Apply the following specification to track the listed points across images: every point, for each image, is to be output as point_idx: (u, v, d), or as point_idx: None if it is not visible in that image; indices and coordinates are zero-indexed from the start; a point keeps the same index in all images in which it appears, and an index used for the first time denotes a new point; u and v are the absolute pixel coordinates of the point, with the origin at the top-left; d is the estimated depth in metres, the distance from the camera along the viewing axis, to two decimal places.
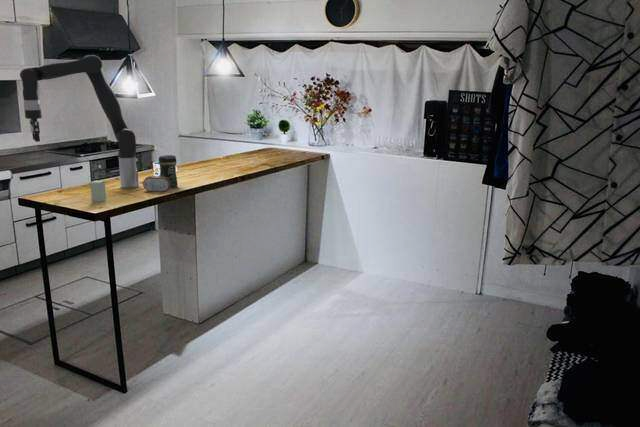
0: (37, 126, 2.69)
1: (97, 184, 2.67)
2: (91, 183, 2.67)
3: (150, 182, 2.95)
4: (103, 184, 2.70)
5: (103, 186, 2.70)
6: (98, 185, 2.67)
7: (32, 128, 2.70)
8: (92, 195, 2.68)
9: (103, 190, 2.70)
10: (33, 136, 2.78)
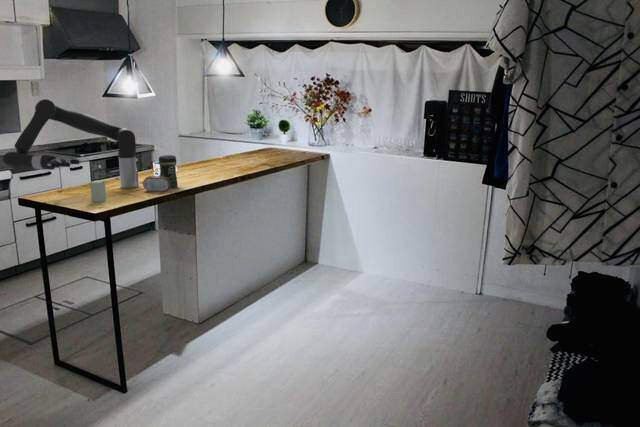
0: (51, 163, 2.62)
1: (97, 184, 2.67)
2: (91, 183, 2.67)
3: (150, 182, 2.95)
4: (103, 184, 2.70)
5: (103, 186, 2.70)
6: (98, 185, 2.67)
7: None
8: (92, 195, 2.68)
9: (103, 190, 2.70)
10: (75, 163, 2.72)
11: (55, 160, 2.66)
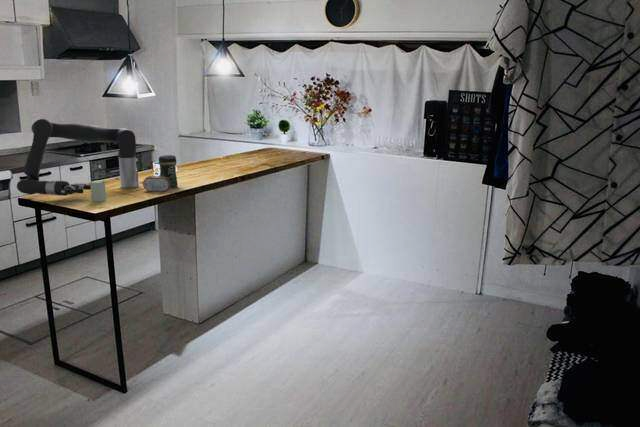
0: (65, 190, 2.65)
1: (97, 184, 2.67)
2: (91, 183, 2.67)
3: (150, 182, 2.95)
4: (103, 184, 2.70)
5: (103, 186, 2.70)
6: (98, 185, 2.67)
7: None
8: (92, 195, 2.68)
9: (103, 190, 2.70)
10: (88, 189, 2.75)
11: (69, 186, 2.69)
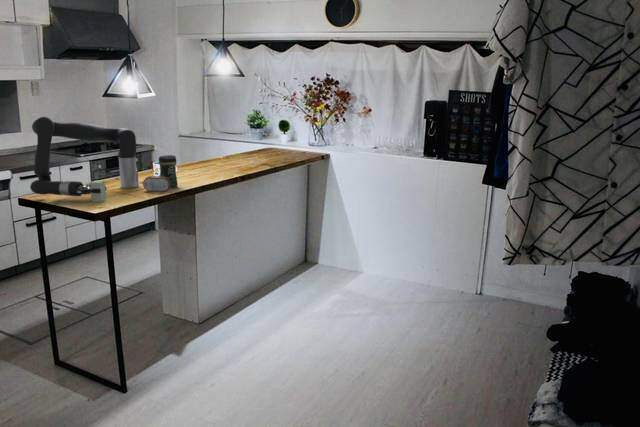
0: (82, 190, 2.64)
1: (97, 184, 2.66)
2: (91, 183, 2.67)
3: (150, 182, 2.95)
4: (103, 184, 2.70)
5: (103, 186, 2.70)
6: (98, 185, 2.67)
7: (87, 193, 2.68)
8: (92, 195, 2.68)
9: (103, 190, 2.70)
10: None
11: (83, 187, 2.68)
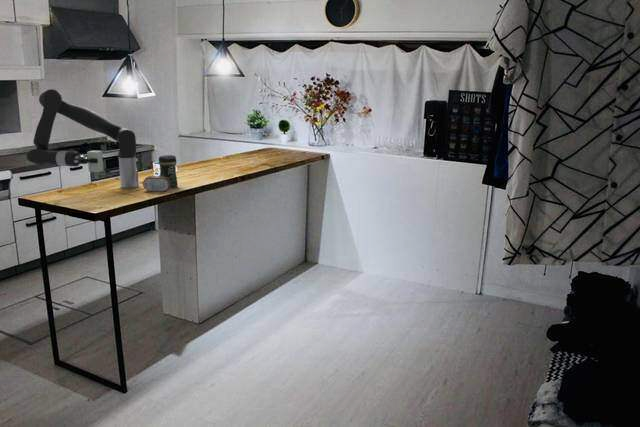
0: (78, 160, 2.60)
1: (94, 153, 2.63)
2: (88, 153, 2.63)
3: (150, 182, 2.95)
4: (100, 154, 2.66)
5: (100, 156, 2.66)
6: (95, 155, 2.63)
7: (84, 163, 2.64)
8: (89, 165, 2.64)
9: (100, 160, 2.66)
10: None
11: (80, 157, 2.64)
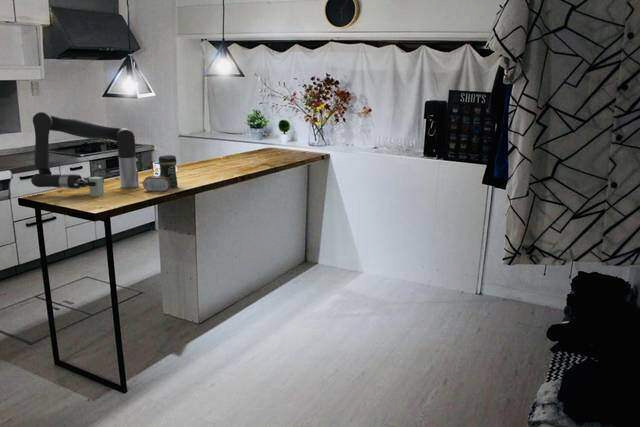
0: (78, 183, 2.76)
1: (95, 180, 2.79)
2: (90, 179, 2.79)
3: (150, 182, 2.95)
4: (101, 180, 2.82)
5: (101, 182, 2.83)
6: (96, 181, 2.79)
7: None
8: (91, 190, 2.81)
9: (101, 186, 2.83)
10: None
11: (81, 180, 2.80)
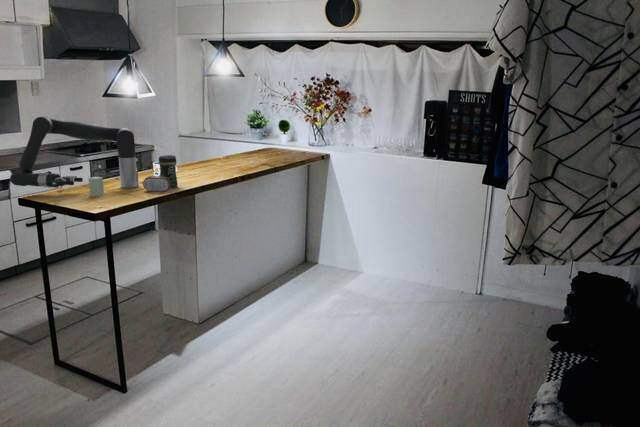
0: (56, 182, 2.77)
1: (95, 180, 2.79)
2: (90, 179, 2.79)
3: (150, 182, 2.95)
4: (101, 180, 2.82)
5: (101, 182, 2.83)
6: (96, 181, 2.79)
7: None
8: (91, 190, 2.81)
9: (101, 186, 2.83)
10: (79, 181, 2.87)
11: (60, 179, 2.81)
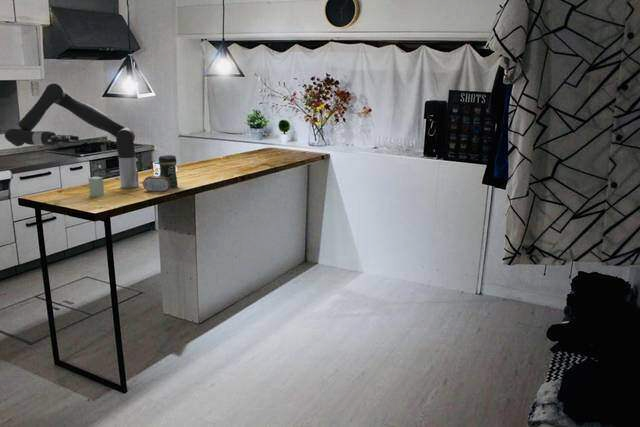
0: (51, 139, 2.71)
1: (95, 180, 2.79)
2: (89, 179, 2.79)
3: (150, 182, 2.95)
4: (101, 180, 2.82)
5: (101, 182, 2.83)
6: (96, 181, 2.79)
7: None
8: (91, 190, 2.81)
9: (101, 186, 2.83)
10: (74, 139, 2.81)
11: (55, 136, 2.76)
